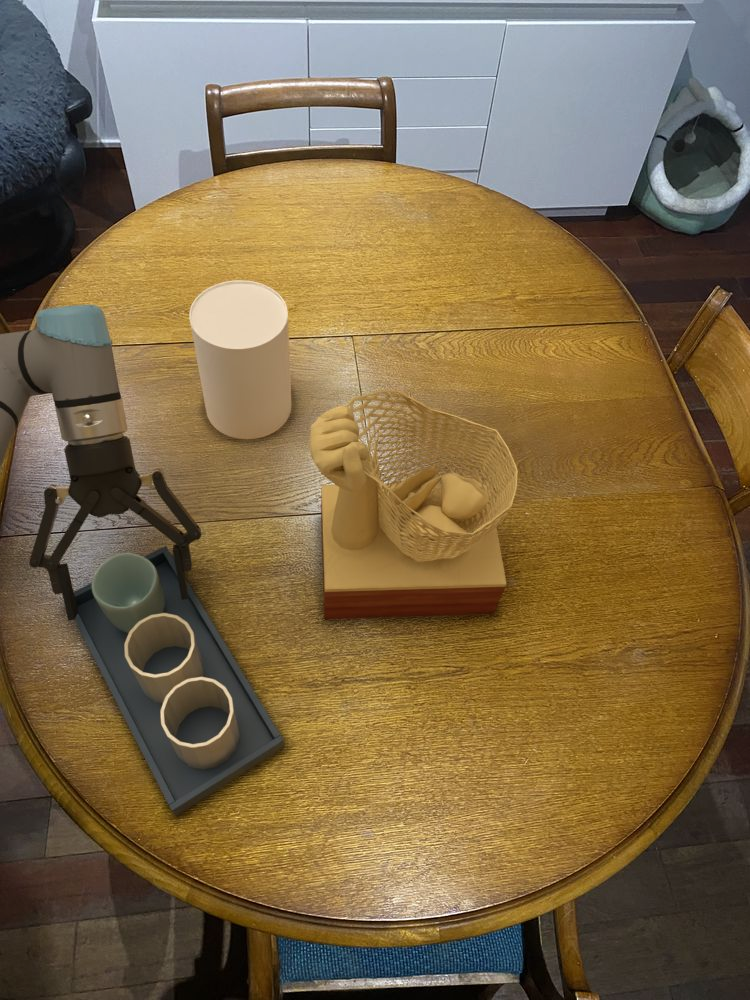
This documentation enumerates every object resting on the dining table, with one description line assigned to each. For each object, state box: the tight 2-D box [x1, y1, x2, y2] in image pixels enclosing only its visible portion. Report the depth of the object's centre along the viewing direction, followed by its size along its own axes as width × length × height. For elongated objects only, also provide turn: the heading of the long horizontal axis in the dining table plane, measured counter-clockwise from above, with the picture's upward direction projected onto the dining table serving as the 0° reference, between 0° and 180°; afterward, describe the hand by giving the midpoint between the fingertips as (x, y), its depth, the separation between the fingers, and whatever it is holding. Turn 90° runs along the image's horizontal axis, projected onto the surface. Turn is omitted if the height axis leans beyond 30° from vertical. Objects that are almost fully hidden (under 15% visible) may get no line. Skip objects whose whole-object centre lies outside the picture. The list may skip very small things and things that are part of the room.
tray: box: [73, 545, 285, 817], centre depth 99 cm, size 32×15×3 cm, turn 34°
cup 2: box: [124, 613, 204, 703], centre depth 96 cm, size 8×8×10 cm
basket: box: [308, 389, 519, 620], centre depth 97 cm, size 25×18×35 cm
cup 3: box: [160, 677, 240, 770], centre depth 92 cm, size 8×8×10 cm
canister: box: [188, 279, 292, 440], centre depth 117 cm, size 14×14×20 cm
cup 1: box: [91, 552, 165, 634], centre depth 100 cm, size 8×8×10 cm
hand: (129, 606), depth 98 cm, fingers open, 13 cm apart
